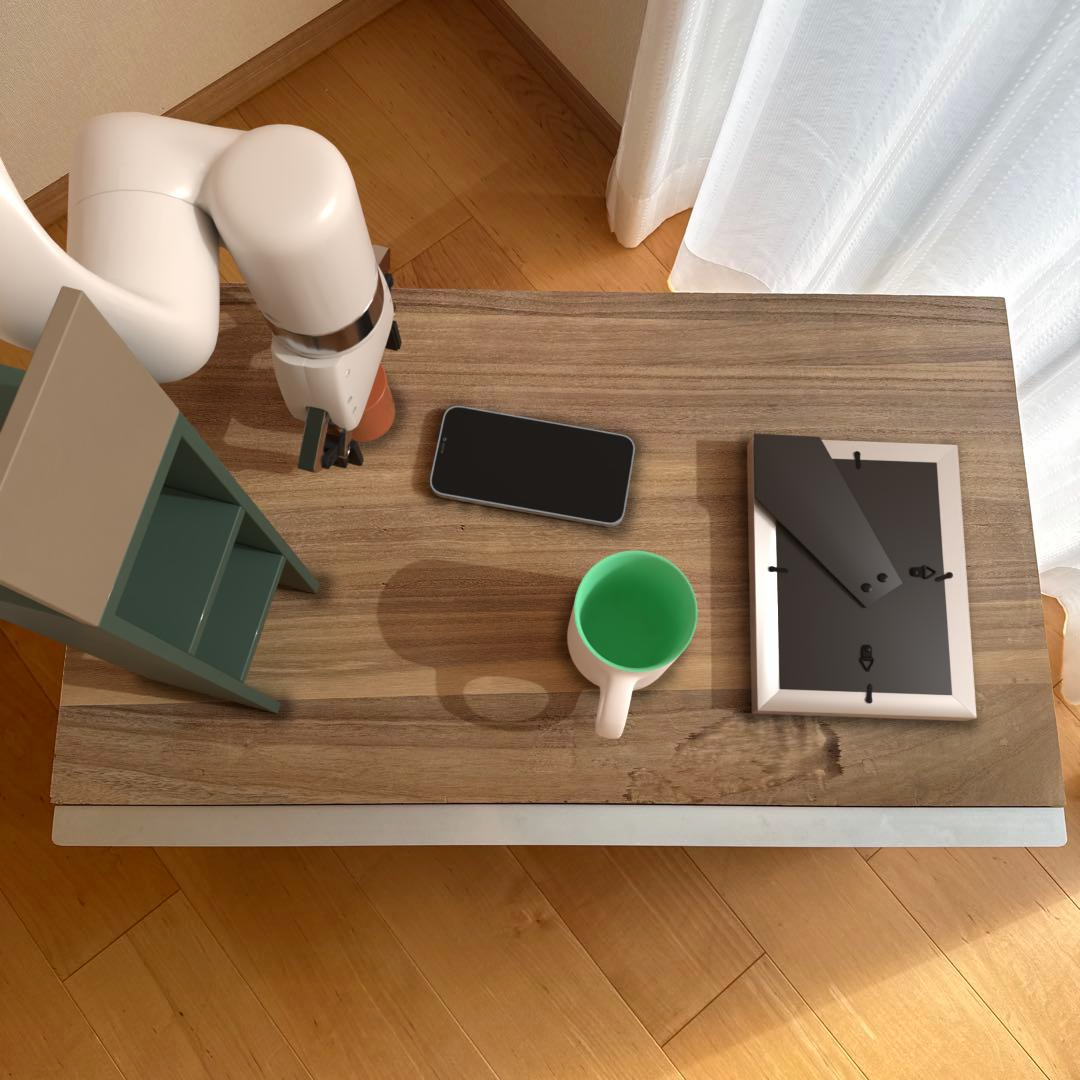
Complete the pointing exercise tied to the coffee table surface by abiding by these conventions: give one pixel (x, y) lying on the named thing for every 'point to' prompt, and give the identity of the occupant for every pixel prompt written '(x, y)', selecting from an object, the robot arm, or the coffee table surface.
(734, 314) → the coffee table surface
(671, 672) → the coffee table surface
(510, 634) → the coffee table surface
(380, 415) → the canister
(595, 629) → the mug
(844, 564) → the picture frame
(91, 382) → the shelf
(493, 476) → the smartphone
